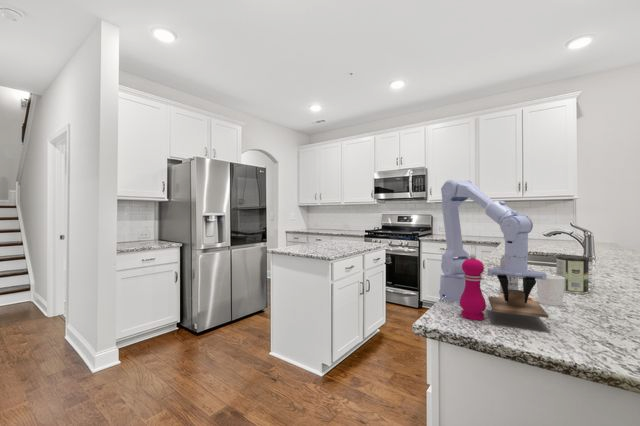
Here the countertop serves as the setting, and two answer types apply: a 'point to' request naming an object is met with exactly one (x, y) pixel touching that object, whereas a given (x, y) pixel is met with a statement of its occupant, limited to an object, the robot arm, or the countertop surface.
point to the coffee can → (573, 273)
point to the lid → (517, 304)
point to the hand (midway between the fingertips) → (515, 301)
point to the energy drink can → (511, 280)
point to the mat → (517, 321)
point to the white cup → (551, 290)
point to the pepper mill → (472, 290)
